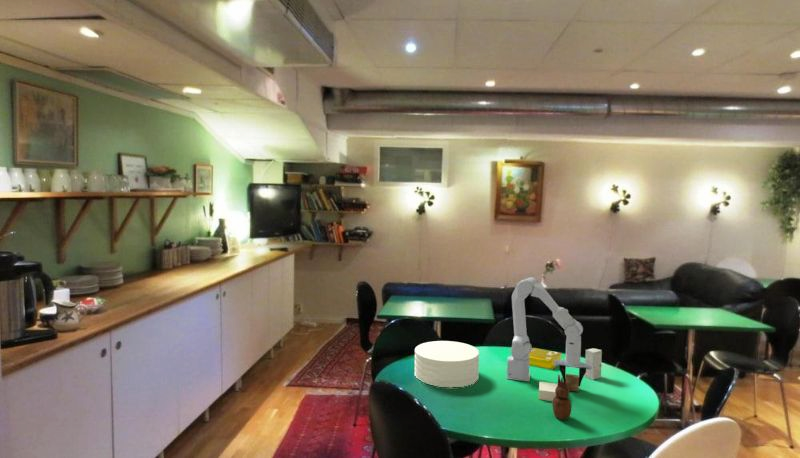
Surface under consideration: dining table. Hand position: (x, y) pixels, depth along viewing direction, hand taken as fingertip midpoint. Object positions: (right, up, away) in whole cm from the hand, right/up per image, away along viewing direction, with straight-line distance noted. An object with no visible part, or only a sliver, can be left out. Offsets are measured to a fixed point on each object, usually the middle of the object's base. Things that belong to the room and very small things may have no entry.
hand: (571, 384), depth 193 cm
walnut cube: (0, -2, 0) cm, 2 cm away
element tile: (-2, -1, +33) cm, 33 cm away
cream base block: (-11, -3, -7) cm, 13 cm away
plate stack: (-50, -1, +14) cm, 52 cm away
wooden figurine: (-13, -4, -25) cm, 28 cm away
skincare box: (+14, -2, +14) cm, 20 cm away
